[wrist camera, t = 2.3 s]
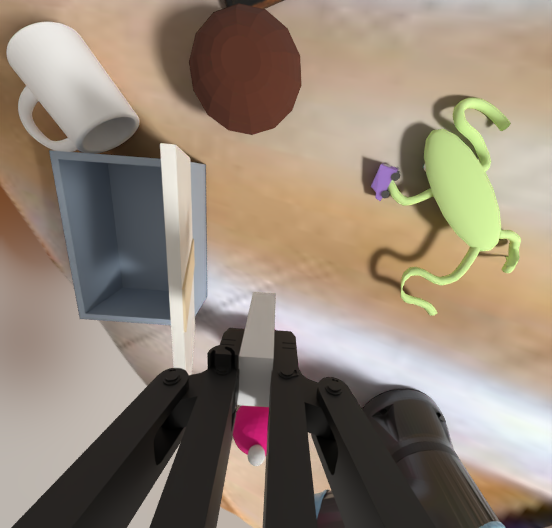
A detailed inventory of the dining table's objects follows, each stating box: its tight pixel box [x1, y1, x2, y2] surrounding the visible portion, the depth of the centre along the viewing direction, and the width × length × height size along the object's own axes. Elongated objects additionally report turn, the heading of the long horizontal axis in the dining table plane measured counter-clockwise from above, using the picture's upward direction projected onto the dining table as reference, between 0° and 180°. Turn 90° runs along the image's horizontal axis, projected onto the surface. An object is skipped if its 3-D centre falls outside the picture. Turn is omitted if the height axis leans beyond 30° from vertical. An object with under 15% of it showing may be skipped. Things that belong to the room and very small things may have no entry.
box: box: [49, 150, 207, 325], centre depth 35 cm, size 20×14×9 cm
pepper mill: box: [233, 330, 276, 466], centre depth 35 cm, size 7×7×20 cm
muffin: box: [189, 4, 301, 135], centre depth 29 cm, size 12×11×10 cm
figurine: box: [371, 98, 521, 315], centre depth 35 cm, size 18×27×6 cm
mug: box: [6, 22, 139, 154], centre depth 31 cm, size 12×10×8 cm
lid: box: [160, 143, 195, 375], centre depth 24 cm, size 21×14×1 cm
